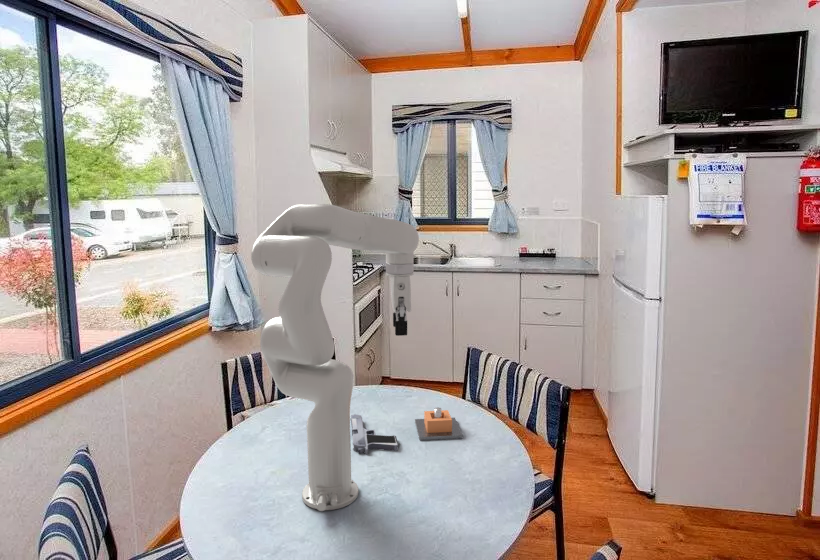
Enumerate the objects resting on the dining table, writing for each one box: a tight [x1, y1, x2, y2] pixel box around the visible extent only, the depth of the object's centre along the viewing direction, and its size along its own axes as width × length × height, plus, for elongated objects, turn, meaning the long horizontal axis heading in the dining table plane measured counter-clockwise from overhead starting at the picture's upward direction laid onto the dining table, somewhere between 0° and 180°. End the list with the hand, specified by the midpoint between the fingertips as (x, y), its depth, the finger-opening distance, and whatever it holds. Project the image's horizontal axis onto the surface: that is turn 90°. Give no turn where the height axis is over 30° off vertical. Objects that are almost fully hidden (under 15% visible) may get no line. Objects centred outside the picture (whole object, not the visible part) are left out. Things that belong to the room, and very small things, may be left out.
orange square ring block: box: [423, 409, 452, 433], centre depth 153 cm, size 7×7×4 cm
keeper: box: [414, 406, 463, 441], centre depth 153 cm, size 12×12×6 cm
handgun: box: [350, 413, 399, 456], centre depth 150 cm, size 2×22×12 cm
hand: (400, 330), depth 146 cm, fingers open, 9 cm apart
